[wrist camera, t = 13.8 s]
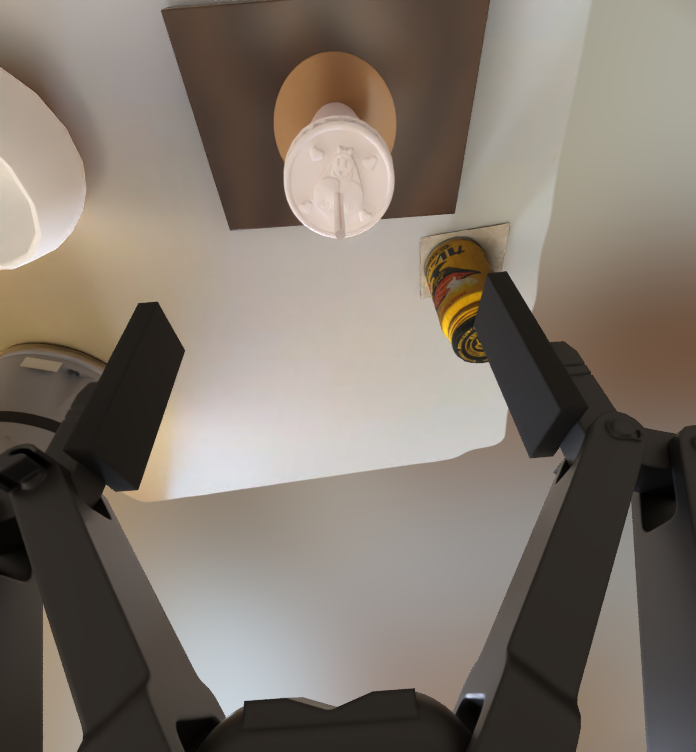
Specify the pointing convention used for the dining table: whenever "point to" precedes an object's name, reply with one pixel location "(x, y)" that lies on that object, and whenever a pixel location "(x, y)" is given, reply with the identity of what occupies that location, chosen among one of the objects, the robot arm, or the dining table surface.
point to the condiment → (461, 281)
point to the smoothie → (338, 174)
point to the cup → (35, 177)
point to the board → (329, 91)
